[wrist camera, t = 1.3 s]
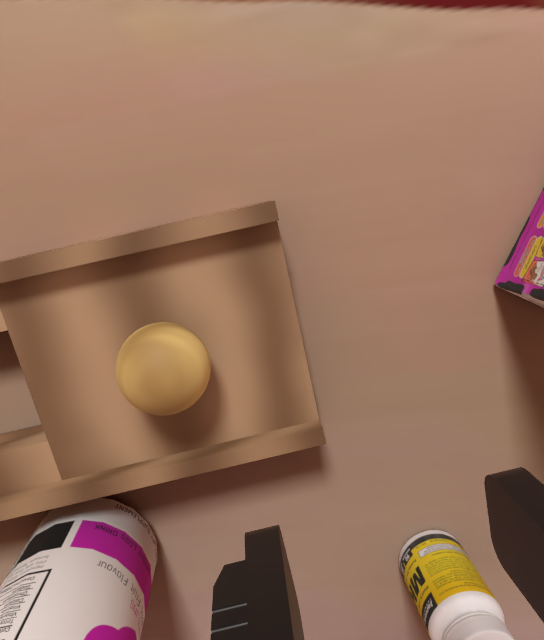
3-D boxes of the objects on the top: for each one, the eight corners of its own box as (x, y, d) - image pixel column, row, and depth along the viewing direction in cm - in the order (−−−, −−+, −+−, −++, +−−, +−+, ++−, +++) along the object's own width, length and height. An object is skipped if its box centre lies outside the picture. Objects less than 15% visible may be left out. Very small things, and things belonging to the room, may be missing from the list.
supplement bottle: (393, 535, 35) (440, 635, 27) (457, 521, 35) (523, 616, 27) (401, 590, 36) (450, 702, 28) (463, 576, 37) (529, 683, 28)
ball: (200, 304, 27) (194, 325, 23) (221, 383, 29) (218, 419, 24) (115, 323, 27) (91, 348, 23) (140, 402, 28) (121, 441, 24)
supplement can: (155, 488, 33) (94, 712, 19) (161, 593, 35) (109, 870, 20) (30, 492, 32) (-136, 727, 18) (42, 598, 34) (-99, 889, 20)
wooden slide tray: (268, 201, 29) (274, 200, 25) (314, 414, 33) (325, 444, 29) (-167, 299, 29) (-234, 314, 25) (-76, 505, 32) (-121, 549, 28)
